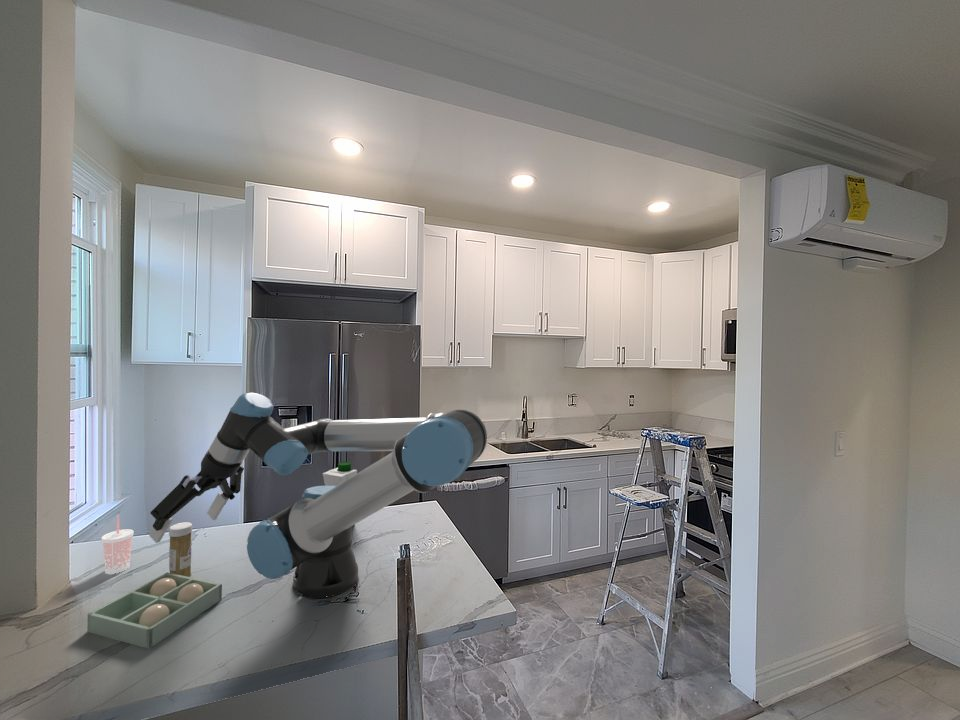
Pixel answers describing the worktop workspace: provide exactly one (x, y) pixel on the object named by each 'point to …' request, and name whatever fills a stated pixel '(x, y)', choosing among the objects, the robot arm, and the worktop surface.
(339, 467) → the milk carton
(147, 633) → the carton
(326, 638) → the worktop surface
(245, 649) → the worktop surface
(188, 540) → the sprinkles bottle
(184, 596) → the egg
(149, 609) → the egg
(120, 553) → the beverage cup
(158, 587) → the egg
